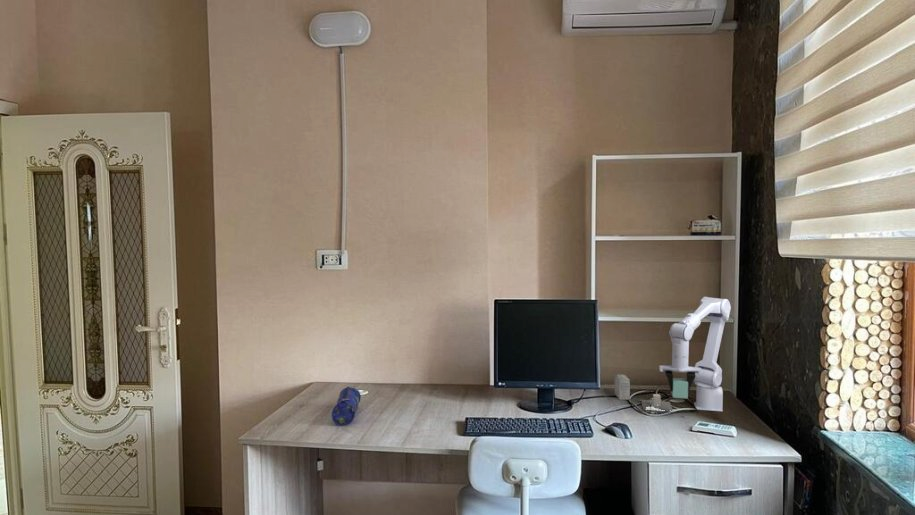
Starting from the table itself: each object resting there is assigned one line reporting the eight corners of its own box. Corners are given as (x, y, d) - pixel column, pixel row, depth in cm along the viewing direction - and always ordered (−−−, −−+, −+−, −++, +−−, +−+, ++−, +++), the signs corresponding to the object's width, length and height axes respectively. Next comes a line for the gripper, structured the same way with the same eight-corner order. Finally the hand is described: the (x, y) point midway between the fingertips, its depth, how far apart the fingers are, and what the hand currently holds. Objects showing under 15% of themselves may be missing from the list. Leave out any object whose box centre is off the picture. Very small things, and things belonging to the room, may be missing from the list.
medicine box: (629, 400, 234) (630, 379, 233) (619, 400, 234) (619, 379, 233) (624, 394, 242) (625, 374, 241) (614, 394, 242) (614, 374, 241)
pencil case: (354, 427, 205) (354, 401, 205) (331, 427, 205) (330, 402, 204) (361, 406, 227) (360, 383, 227) (339, 407, 227) (339, 384, 226)
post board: (669, 403, 229) (669, 392, 228) (672, 412, 218) (673, 400, 218) (641, 401, 231) (641, 390, 231) (643, 410, 221) (643, 398, 220)
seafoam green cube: (685, 394, 214) (686, 378, 213) (687, 398, 209) (688, 382, 208) (671, 393, 215) (671, 377, 215) (672, 397, 210) (673, 381, 209)
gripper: (661, 357, 209) (660, 392, 210) (702, 359, 205) (702, 395, 206) (659, 352, 215) (658, 387, 216) (699, 354, 212) (698, 390, 213)
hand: (679, 391), depth 212 cm, fingers closed on seafoam green cube, 5 cm apart
